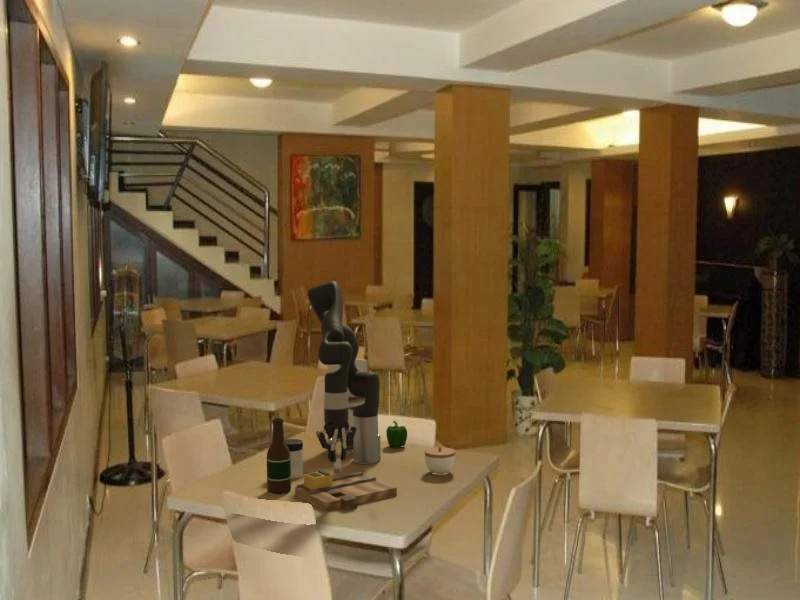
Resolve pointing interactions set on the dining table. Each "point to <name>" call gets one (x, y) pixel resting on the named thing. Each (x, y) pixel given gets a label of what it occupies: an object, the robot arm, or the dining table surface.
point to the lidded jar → (440, 459)
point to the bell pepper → (396, 435)
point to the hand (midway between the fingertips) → (337, 460)
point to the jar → (296, 457)
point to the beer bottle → (278, 461)
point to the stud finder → (318, 479)
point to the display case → (352, 399)
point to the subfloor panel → (347, 492)
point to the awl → (337, 456)
